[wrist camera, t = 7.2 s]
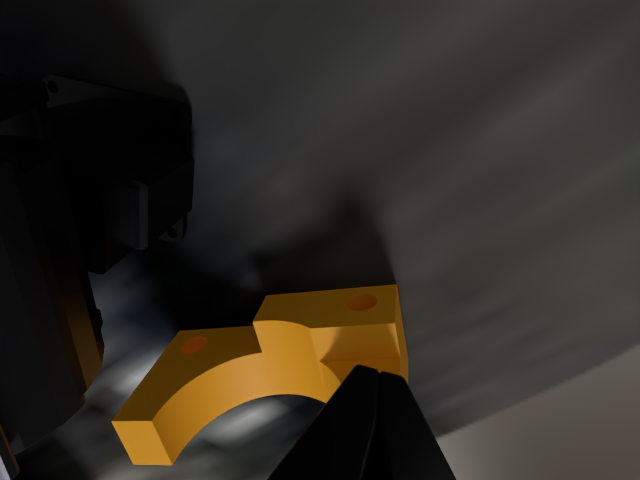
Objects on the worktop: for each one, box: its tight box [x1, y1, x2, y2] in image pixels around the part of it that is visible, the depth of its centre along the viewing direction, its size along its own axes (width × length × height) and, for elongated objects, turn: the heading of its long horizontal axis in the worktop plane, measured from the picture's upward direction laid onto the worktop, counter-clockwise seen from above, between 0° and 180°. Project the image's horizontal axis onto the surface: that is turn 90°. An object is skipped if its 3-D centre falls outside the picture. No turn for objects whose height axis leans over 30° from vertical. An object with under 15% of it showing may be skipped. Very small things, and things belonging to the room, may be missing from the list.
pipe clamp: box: [111, 284, 408, 465], centre depth 20 cm, size 12×4×6 cm, turn 102°
